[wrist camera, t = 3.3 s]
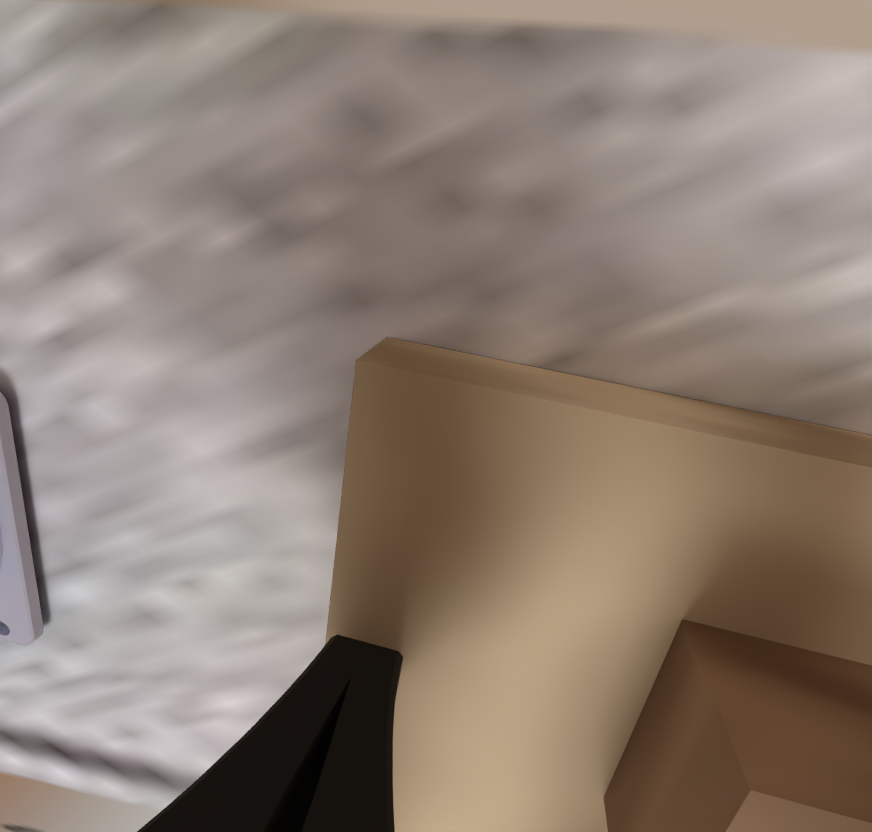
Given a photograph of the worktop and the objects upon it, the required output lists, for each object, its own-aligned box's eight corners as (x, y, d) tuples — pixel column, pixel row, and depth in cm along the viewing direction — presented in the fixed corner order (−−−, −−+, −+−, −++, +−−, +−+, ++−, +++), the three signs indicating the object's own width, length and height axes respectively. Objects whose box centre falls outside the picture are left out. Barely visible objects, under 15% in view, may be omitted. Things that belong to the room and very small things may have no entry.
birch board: (334, 739, 15) (306, 812, 13) (386, 337, 10) (355, 360, 8) (842, 885, 13) (892, 991, 11) (1150, 491, 9) (1314, 560, 7)
